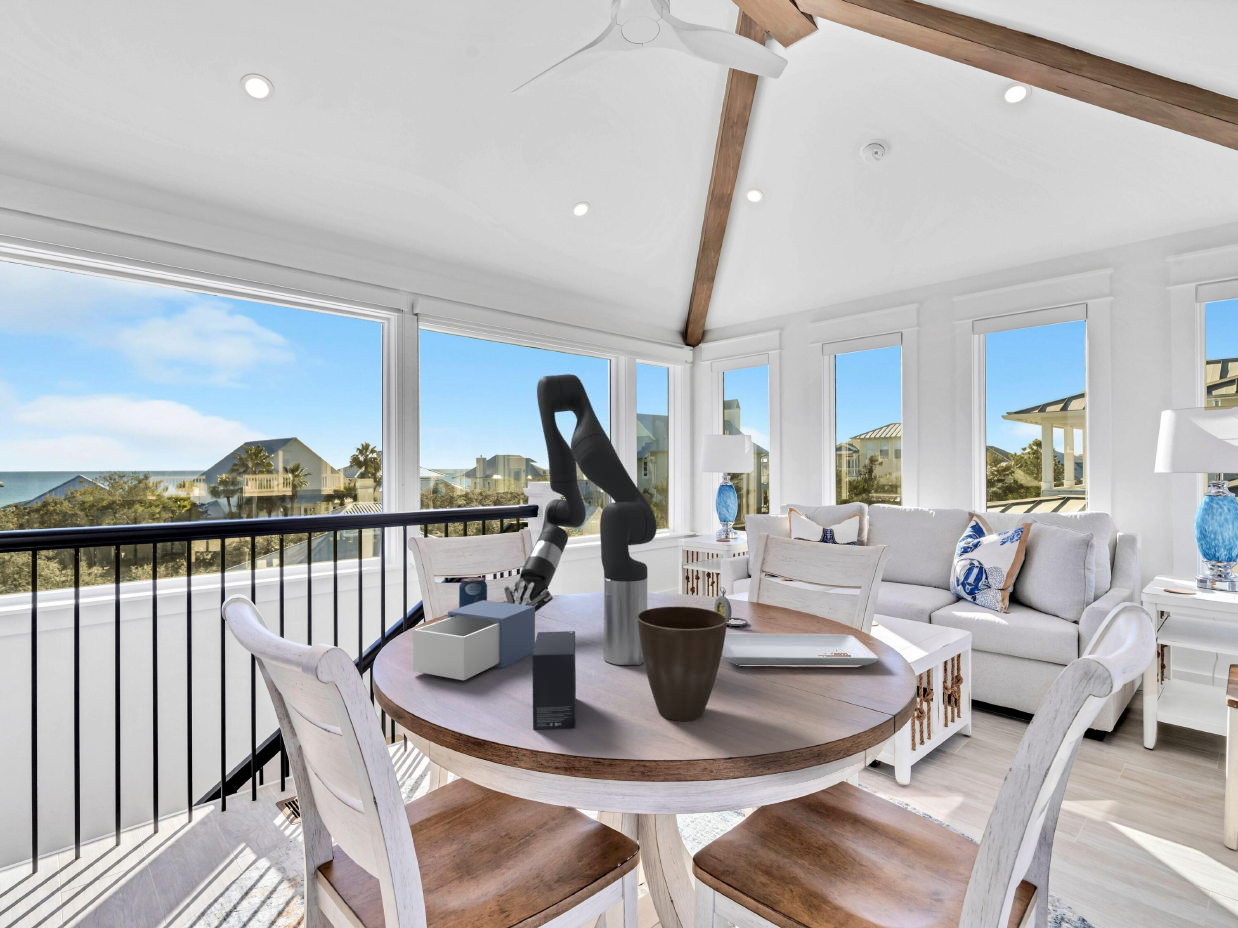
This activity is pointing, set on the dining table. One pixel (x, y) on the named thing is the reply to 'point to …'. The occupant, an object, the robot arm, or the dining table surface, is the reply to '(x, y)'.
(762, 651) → the tray
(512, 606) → the mailer sleeve
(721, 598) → the pocket watch
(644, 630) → the plant pot
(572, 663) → the small box
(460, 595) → the soda can
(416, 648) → the tray
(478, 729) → the dining table surface
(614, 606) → the robot arm
